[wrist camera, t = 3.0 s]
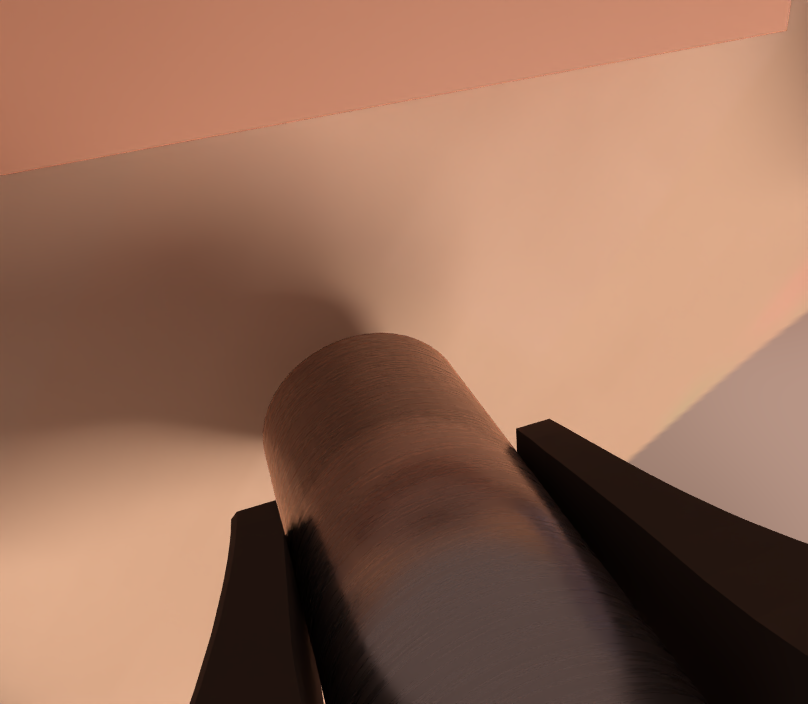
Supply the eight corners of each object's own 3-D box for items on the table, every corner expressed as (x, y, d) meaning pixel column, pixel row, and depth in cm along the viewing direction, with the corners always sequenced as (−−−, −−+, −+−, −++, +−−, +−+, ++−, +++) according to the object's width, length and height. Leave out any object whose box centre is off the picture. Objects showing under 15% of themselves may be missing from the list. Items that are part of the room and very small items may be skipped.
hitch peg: (455, 310, 13) (783, 675, 6) (469, 475, 15) (727, 883, 8) (240, 364, 12) (355, 852, 5) (286, 531, 14) (409, 1035, 8)
